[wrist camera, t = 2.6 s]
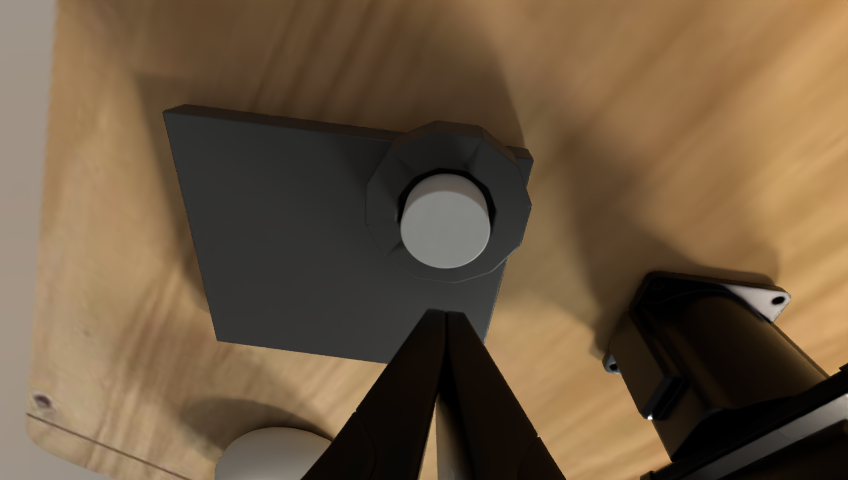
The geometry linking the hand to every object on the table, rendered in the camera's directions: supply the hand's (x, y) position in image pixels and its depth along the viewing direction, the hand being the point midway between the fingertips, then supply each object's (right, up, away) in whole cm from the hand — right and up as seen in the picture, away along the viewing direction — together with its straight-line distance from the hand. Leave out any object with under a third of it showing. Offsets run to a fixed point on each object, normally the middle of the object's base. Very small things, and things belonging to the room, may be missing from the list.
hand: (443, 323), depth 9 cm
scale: (-4, +1, +9) cm, 10 cm away
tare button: (0, +3, +5) cm, 6 cm away
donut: (-10, -14, +19) cm, 26 cm away
